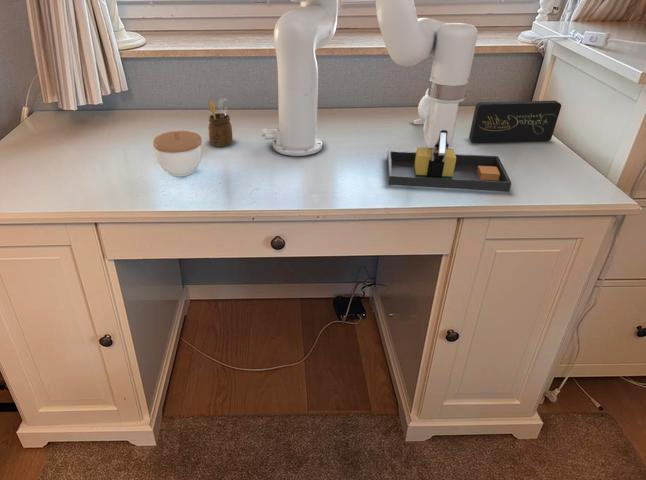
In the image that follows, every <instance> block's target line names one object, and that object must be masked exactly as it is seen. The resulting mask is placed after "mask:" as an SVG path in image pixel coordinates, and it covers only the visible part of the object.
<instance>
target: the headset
mask: <svg viewBox="0 0 646 480" xmlns="http://www.w3.org/2000/svg"><path fill="white" fill-rule="evenodd" d="M428 90H429V87H428V88H427V89H426V91H425V94H424V96H422V98H421V99H420V101H419V102H418V106H417V113H418V116H419V118H418V119H415V120H413V124H414V125H423V130H422V132H424V130H425V125H426V120H427V115H428V110H429V105H430V100H431V99H429V98H428Z"/></svg>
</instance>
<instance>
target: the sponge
mask: <svg viewBox="0 0 646 480" xmlns="http://www.w3.org/2000/svg"><path fill="white" fill-rule="evenodd" d="M415 152H416V158H415V164H414V171H415V177H427V171H428V165H429V160H431V155H432V148H430V149H428V148H427V147H422V146H421V147H420V146H419V147H416V151H415ZM436 153H438V150H435V154H436ZM455 154H456V153H455V149H454V148H449V149H448V150H447V149H446V154H445V163H444V168H443V173H442V178H451V179H452V177H453V173H454V168H455V163H456V155H455Z"/></svg>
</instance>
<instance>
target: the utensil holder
mask: <svg viewBox="0 0 646 480" xmlns="http://www.w3.org/2000/svg"><path fill="white" fill-rule="evenodd" d="M223 100H226V98H225V97H224V98H223V97H221V98H220V101H223ZM207 103H208V107H209V108H208V109H209V111H210V112H211V113H212V114H211V115H209V116H208V123H209V124H208V137H209V142H210V145H212V147H217V148H221V147H222V148H223V147H228V146H230V145H232V144H233V128H232V127H233V126H232V123H231V122H230V121H231V118H230V115H229V114H227V112H228V108H225V111H222V109H220V108H217V109H218V113H216V112H217V110H216V106H215V103H214V100H213V99H212V100H211V99H207ZM217 103H218V104H217V106H222V102H217Z"/></svg>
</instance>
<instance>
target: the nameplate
mask: <svg viewBox="0 0 646 480" xmlns="http://www.w3.org/2000/svg"><path fill="white" fill-rule="evenodd" d="M561 110H562V103H560V102H559V101H557V100H519V101H518V100H517V101H513V100H512V101H479V102H478V103H476V104H475V107H474V112H473V117H472V122H471V125H470V131H469V135H468V140H469V141H470V142H471V143H472V144H501V143H502V144H509V143H511V144H512V143H547V142H549V141H551V140H552V138H553V135H554V131H555V128H556V125H557V122H558V118H559V115H560V112H561Z"/></svg>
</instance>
